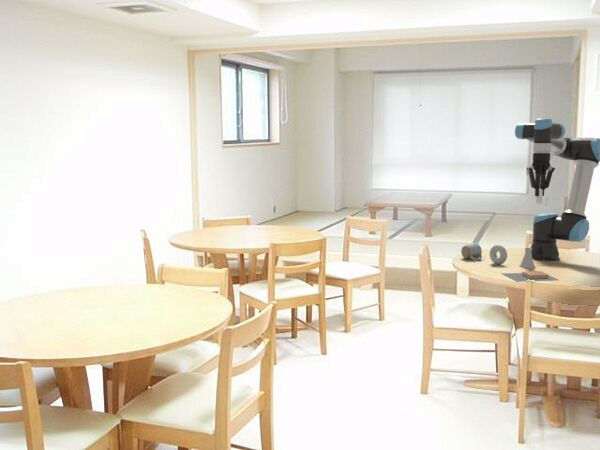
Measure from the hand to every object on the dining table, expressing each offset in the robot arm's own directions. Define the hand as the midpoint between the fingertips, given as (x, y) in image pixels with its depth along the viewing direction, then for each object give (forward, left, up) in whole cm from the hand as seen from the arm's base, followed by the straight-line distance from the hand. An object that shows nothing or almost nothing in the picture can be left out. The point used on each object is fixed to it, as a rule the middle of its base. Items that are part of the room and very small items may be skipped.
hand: (539, 203), depth 300 cm
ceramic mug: (+18, -32, -33) cm, 49 cm away
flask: (+1, -6, -33) cm, 33 cm away
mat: (+10, +14, -32) cm, 37 cm away
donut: (+11, -17, -33) cm, 38 cm away
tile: (+3, +14, -31) cm, 34 cm away
